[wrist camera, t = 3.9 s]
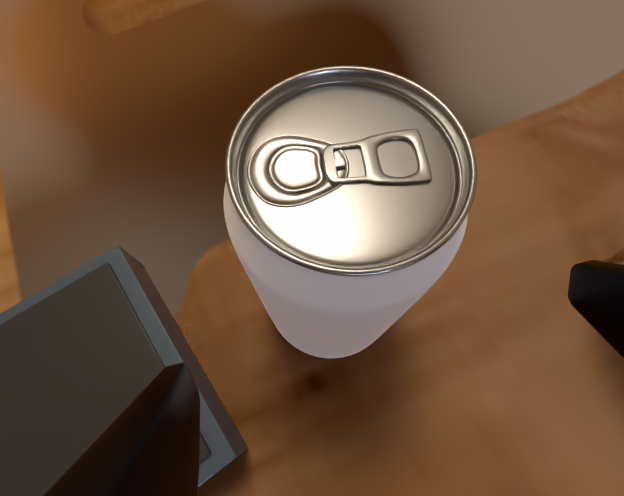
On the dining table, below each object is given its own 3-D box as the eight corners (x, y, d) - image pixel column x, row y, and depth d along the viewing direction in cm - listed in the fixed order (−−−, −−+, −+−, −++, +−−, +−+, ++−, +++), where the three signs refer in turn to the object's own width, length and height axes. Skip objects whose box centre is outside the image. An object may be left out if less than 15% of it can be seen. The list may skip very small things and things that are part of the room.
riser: (248, 448, 16) (235, 458, 14) (7, 636, 14) (-69, 695, 11) (142, 264, 20) (114, 242, 17) (-66, 389, 18) (-137, 387, 15)
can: (264, 247, 20) (204, 64, 9) (378, 234, 21) (453, 41, 9) (273, 367, 18) (205, 315, 7) (402, 351, 18) (543, 276, 7)
